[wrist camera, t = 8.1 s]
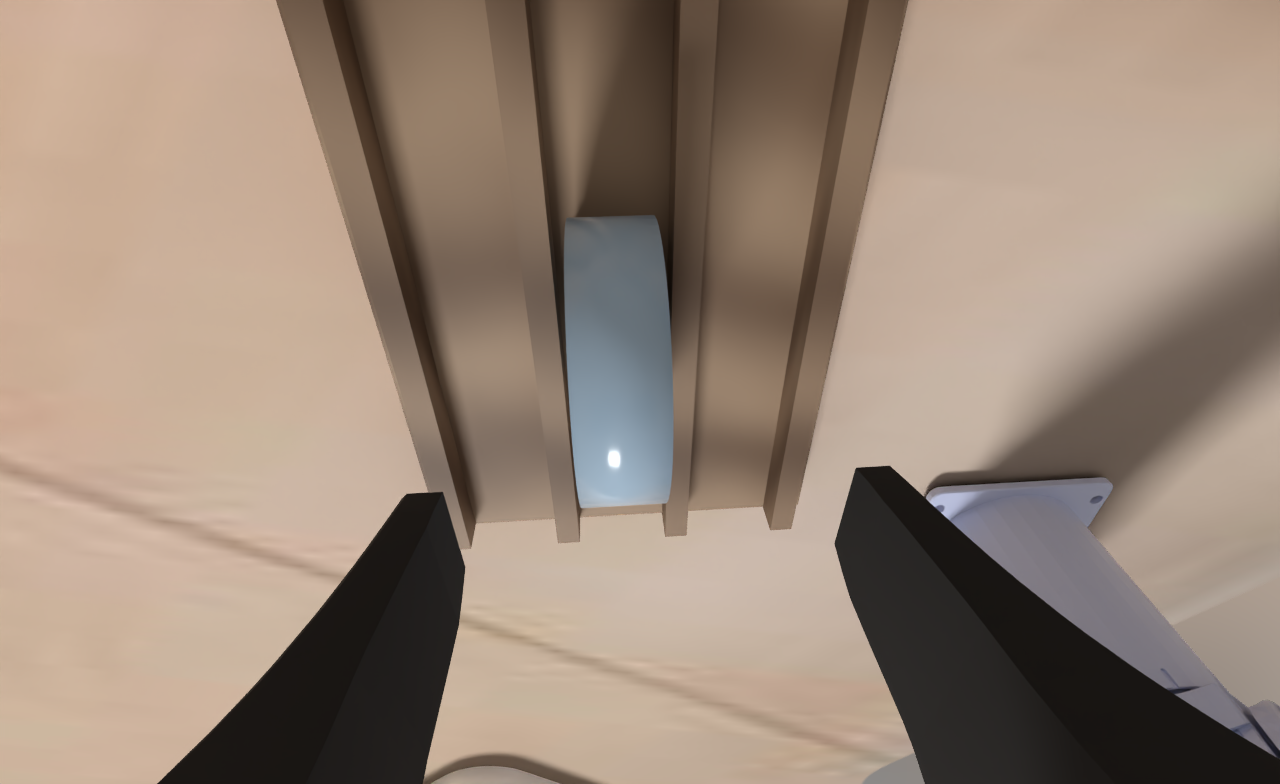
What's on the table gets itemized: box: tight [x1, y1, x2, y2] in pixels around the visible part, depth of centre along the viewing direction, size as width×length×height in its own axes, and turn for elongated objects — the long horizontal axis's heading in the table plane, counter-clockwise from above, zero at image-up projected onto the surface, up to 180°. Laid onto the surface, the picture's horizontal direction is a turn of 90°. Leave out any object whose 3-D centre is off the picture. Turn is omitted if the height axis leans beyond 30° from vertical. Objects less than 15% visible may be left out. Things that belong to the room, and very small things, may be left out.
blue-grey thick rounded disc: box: [564, 215, 674, 508], centre depth 15 cm, size 7×2×7 cm, turn 0°
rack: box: [276, 0, 908, 549], centre depth 18 cm, size 19×14×2 cm
